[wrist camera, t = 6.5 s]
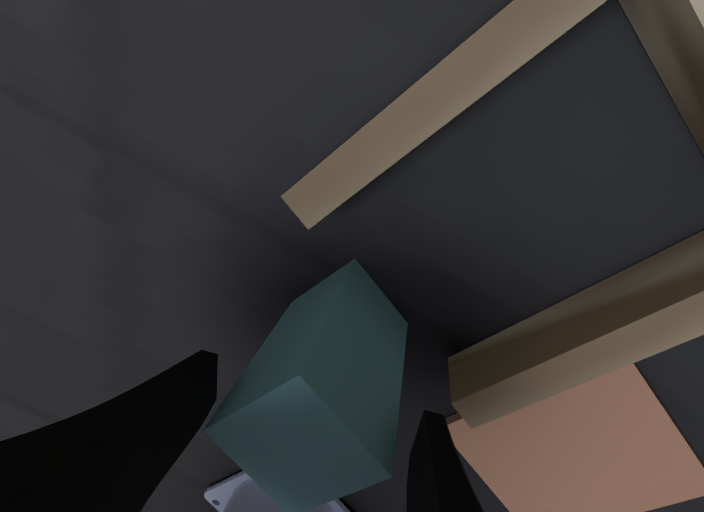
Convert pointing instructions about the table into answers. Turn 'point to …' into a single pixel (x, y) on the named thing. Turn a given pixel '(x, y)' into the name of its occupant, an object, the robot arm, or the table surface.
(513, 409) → the birch rack
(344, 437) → the teal block
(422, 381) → the table surface
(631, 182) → the table surface
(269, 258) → the table surface
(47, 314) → the table surface
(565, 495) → the terracotta tile
